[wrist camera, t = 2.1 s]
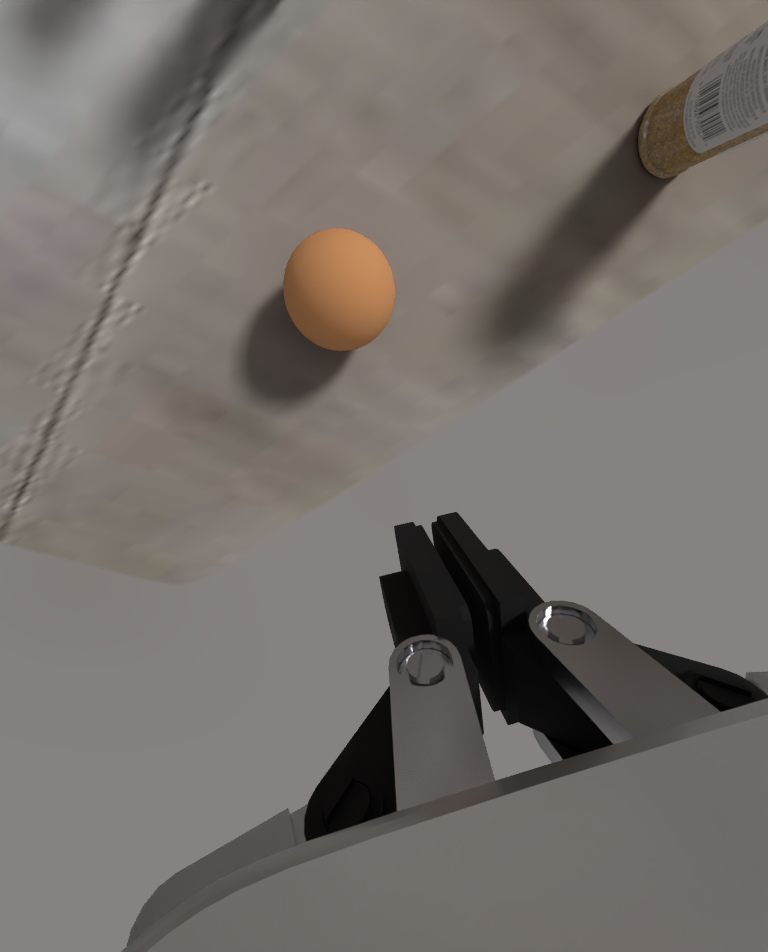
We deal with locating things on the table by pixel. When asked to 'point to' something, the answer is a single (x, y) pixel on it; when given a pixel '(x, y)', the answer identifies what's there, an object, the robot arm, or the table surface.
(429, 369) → the table surface
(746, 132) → the sprinkles bottle
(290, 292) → the ball
